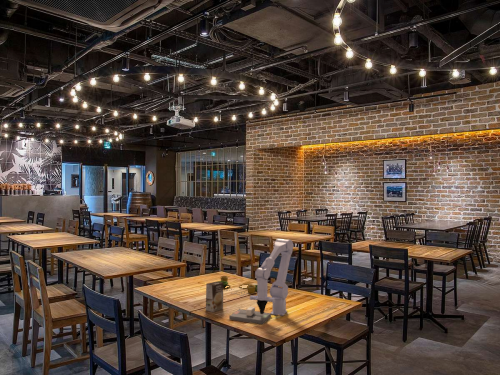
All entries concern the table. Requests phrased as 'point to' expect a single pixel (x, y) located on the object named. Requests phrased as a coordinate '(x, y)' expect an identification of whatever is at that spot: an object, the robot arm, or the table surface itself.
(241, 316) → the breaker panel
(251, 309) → the breaker knob
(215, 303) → the coffee box
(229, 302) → the table surface
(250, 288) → the tableware set
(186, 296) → the table surface
